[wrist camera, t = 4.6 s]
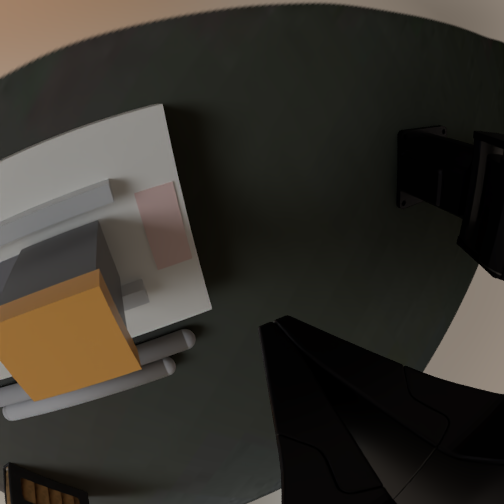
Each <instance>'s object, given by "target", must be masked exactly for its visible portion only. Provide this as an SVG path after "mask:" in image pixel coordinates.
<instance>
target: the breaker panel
mask: <svg viewBox="0 0 504 504" xmlns="http://www.w3.org/2000/svg"><path fill="white" fill-rule="evenodd" d="M96 220H98V221H99V224H100V227H101V229H102V232H103V235H104V238H105V240H106V243H107V246H108V248H109V251H110V254H111V256H112V259H113V261H114V264H115V266H116V269H117V271H118V274H119V276H120V283H121V291H122V298H123V306H124V312H125V319H126V325H127V330H128V332H129V334H130V336H131V338H133V337H136V336H139V335H141V334H144V333H147V332H150V331H153V330H156V329H159V328H161V327H164V326H167V325H170V324H173V323H175V322H178V321H181V320H184V319H186V318H189V317H192V316H195V315H197V314H200V313H203V312H205V311H208V310H211V309H212V307H211V303H210V300H209V296H208V292H207V289H206V285H205V282H204V278H203V274H202V270H201V267H200V263H199V259H198V255H197V251H196V248H195V244H194V240H193V236H192V232H191V228H190V224H189V220H188V216H187V212H186V208H185V203H184V199H183V195H182V191H181V187H180V182H179V178H178V174H177V169H176V165H175V160H174V156H173V151H172V147H171V142H170V137H169V133H168V128H167V123H166V118H165V113H164V108H163V104H153V105H149V106H145V107H142V108H138V109H134V110H131V111H127V112H124V113H121V114H117V115H114V116H111V117H108V118H104V119H101V120H98V121H95V122H92V123H89V124H86V125H84V126H81V127H78V128H75V129H72V130H70V131H67V132H64V133H62V134H59V135H56V136H54V137H51V138H49V139H46V140H44V141H41V142H39V143H37V144H34V145H32V146H30V147H27V148H25V149H23V150H21V151H18V152H16V153H14V154H12V155H10V156H8V157H5V158H3V159H1V160H0V296H1V293H2V291H3V289H4V286H5V284H6V282H7V279H8V277H9V275H10V273H11V270H12V268H13V266H14V264H15V262H16V260H17V258H18V256H19V254H20V251H21V250H22V249H24V248H26V247H29V246H31V245H34V244H36V243H39V242H41V241H44V240H46V239H49V238H51V237H54V236H56V235H59V234H61V233H64V232H67V231H69V230H72V229H75V228H77V227H80V226H83V225H85V224H88V223H91V222H94V221H96ZM8 377H12V375H11V374H10V373H9V371H8V370H7V369H6V368H5V366H4V365H3V364H2V362H1V361H0V380H1V379H5V378H8Z"/></svg>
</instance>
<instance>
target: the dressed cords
mask: <svg viewBox="0 0 504 504" xmlns="http://www.w3.org/2000/svg"><path fill="white" fill-rule="evenodd" d="M195 340H196V339H195V335H194V333H193V332H192V331H190V330H188V329H181V330H178V331H176V332H173V333H170V334H167V335H165V336H162V337H159V338H156V339H153V340H150V341H148V342H145V343H142V344H139V345H136V347H137V349H138V354H139V358H140V363H141V367H142V369H141V370H138V371H135V372H132V373H129V374H126V375H123V376H120V377H117V378H114V379H110V380H107V381H104V382H101V383H98V384H95V385H91V386H88V387H85V388H81V389H78V390H75V391H71V392H68V393H64V394H61V395H57V396H54V397H50V398H46V399H43V400H39V401H35V402H34V401H33V400H32V399H31V398H30V397H29V395H28V394H27V393H26V392H25V391H24V390H23V388H22V387H21V386H20V385H19V384H18V383H16V384H12V385H9V386H5V387H2V388H0V407H3V406H4V407H3V415H4V416H5V418H6V419H8V420H10V421H15V420H19V419H24V418H28V417H32V416H36V415H40V414H44V413H48V412H52V411H56V410H60V409H63V408H67V407H71V406H74V405H78V404H81V403H85V402H88V401H92V400H95V399H99V398H102V397H105V396H109V395H112V394H115V393H118V392H121V391H124V390H128V389H131V388H134V387H137V386H140V385H143V384H146V383H149V382H152V381H155V380H158V379H160V378H163V377H166V376H169V375H171V374H173V373H174V371H175V369H176V364H175V362H174V360H173V359H172V358H170V357H168V356H171V355H174V354H176V353H179V352H182V351H185V350H187V349H190V348H191V347H193V346H194V344H195Z"/></svg>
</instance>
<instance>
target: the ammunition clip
mask: <svg viewBox="0 0 504 504" xmlns="http://www.w3.org/2000/svg"><path fill="white" fill-rule="evenodd" d="M3 475H4V491H5V501H6V504H89V499H88V493H87V492H85V491H82V490H79V489H76V488H73V487H70V486H67V485H64V484H61V483H58V482H55V481H53V480H50V479H47V478H45V477H42V476H40V475H37V474H35V473H32V472H30V471H28V470H25V469H23V468H21V467H18V466H16V465H14V464H12V463H10V462H9V463H8V464H6V465H5V466H4V467H3Z"/></svg>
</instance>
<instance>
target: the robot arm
mask: <svg viewBox="0 0 504 504" xmlns="http://www.w3.org/2000/svg"><path fill="white" fill-rule="evenodd" d="M446 136H447V130H446V127H445V126H441V125H439V126H430V127H422V128H414V129H407V130H401V131H399V133H398V170H397V202H396V204H397V207H399V208H401V209H404V208H407V207H410V206H412V205H415V204H417V203H420V202H423V201H425V202H428V203H430V204H432V205H434V206H436V207H439V208H441V209H443V210H445V211H447V212H449V213H451V214H454V215H456V216H458V217H460V218H462V219H463V221H462V226H461V230H460V235H459V236H458V239H457V244H458V245H459V246H460V247H461V248H462V249H463V250H464V251H465V252H467V253H468V254H469V255H470V256H471V257H472V258H473V259H474V260H475V261H476V262H478V263H479V264H480V265H481V266H482V267H483V268H484V269H485V270H486V271H487V272H488V273H489V274H490V275H491V276H492V277H494V278H498V279H500V280H503V281H504V153H503V149H504V135H502V134H499V133H492V132H482V131H474V135H473V138H474V145H471V144H468V143H464V142H461V141H458V140H454V139H450V138H447V137H446ZM403 137H404V138H403ZM258 332H259V338H260V344H261V350H262V356H263V362H264V368H265V374H266V380H267V386H268V392H269V398H270V404H271V410H272V416H273V422H274V428H275V433H276V440H277V446H278V453H279V461H280V469H281V489H282V504H504V394H498V393H493V392H489V391H485V390H481V389H477V388H473V387H469V386H464V385H461V384H456V383H453V382H450V381H447V380H443V379H440V378H437V377H434V376H431V375H428V374H426V373H423V372H420V371H418V370H415V369H413V368H410V367H408V366H404V367H403V365H402V364H400V363H397V362H395V361H393V360H390V359H388V358H385V357H383V356H381V355H378V354H376V353H373V352H371V351H369V350H366V349H364V348H362V347H359V346H357V345H355V344H352V343H350V342H348V341H345V340H343V339H341V338H338V337H336V336H334V335H332V334H329V333H327V332H325V331H322V330H320V329H318V328H316V327H313V326H311V325H309V324H307V323H304V322H302V321H300V320H298V319H296V318H293V317H291V316H288V315H287V316H284V317H281V318H279V319H276V320H275V321H274V322H269V323H266V324H264V325H261V326H259V327H258Z"/></svg>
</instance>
